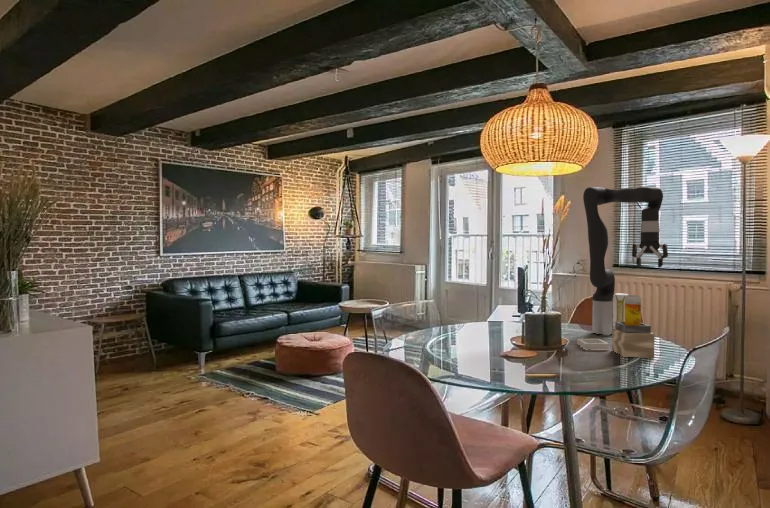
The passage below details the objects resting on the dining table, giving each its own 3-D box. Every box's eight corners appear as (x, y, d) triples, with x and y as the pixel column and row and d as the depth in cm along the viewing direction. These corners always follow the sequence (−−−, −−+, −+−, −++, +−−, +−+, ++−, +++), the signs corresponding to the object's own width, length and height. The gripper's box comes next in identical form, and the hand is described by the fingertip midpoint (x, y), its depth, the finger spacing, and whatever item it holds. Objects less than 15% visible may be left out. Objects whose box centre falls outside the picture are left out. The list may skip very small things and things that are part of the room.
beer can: (636, 332, 201) (637, 296, 200) (621, 330, 206) (622, 295, 205) (643, 330, 205) (643, 295, 204) (628, 328, 209) (628, 294, 209)
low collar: (577, 345, 223) (577, 338, 223) (599, 345, 223) (599, 338, 223) (585, 350, 213) (585, 343, 213) (608, 350, 213) (608, 343, 213)
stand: (611, 350, 212) (612, 321, 211) (639, 350, 211) (639, 321, 211) (624, 357, 200) (625, 326, 199) (654, 357, 199) (654, 326, 199)
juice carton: (629, 328, 261) (629, 293, 260) (627, 331, 253) (628, 295, 253) (614, 327, 265) (614, 292, 264) (612, 330, 257) (612, 294, 257)
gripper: (630, 231, 222) (629, 266, 222) (664, 230, 211) (664, 267, 212) (636, 231, 227) (635, 265, 227) (670, 230, 217) (669, 267, 217)
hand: (649, 266), depth 220 cm, fingers open, 8 cm apart
